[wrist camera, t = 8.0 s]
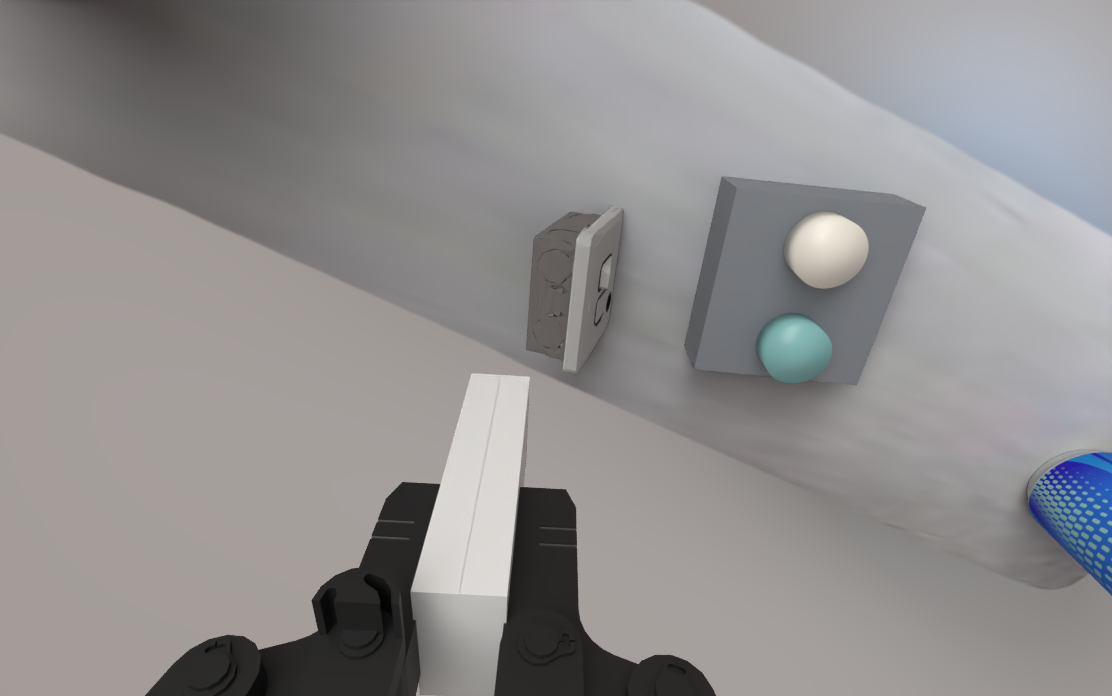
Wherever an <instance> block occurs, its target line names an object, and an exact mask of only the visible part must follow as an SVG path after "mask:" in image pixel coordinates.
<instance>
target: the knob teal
mask: <svg viewBox="0 0 1112 696" xmlns="http://www.w3.org/2000/svg"><path fill="white" fill-rule="evenodd" d="M756 350H757V354H758V356H759V358H760V359H761V361H762V363H763V364H764V366H765V367H766V369H767V371H768V372H769V374H770V375H771V376H772V377H773V378H775V379H776V380H778V381H780V382H784V383H789V384H796V383H802V382H806V381H808V380H811V379H813V378H814V377H816V376H817V375H819V374H820V373H821V372H822V371H823V370H824V369H825V368H826V366H827V365H828V363H829V361H830V359H831V356H832V344H831V341H830V339H829V337H828V336H827V334H826V333H825V332H824V331H823V330H822V329H821V328H820V327H819V326H818V325H817V324H816V323H815V321H813V320H812V319H811V318H809V317H808V316H805V315H802V314H797V313H791V314H785V315H781V316H779V317H776V318H775V319H772V320H771V321H770V322H769V323H767V324H766V325H765V326H764V328H763V329H762V330H761V332H760V334H759V335H758V338H757V342H756Z"/></svg>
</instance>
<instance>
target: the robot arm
mask: <svg viewBox="0 0 1112 696" xmlns="http://www.w3.org/2000/svg"><path fill="white" fill-rule="evenodd" d="M529 380H530V377H525V376H507V375H489V374H473V373H472V374H471V378H470V381H469V385H468V388H467V392H466V396H465V399H464V403H463V406H462V410H461V413H460V417H459V420H458V424H457V428H456V431H455V435H454V438H453V442H452V446H451V449H450V453H449V456H448V460H447V463H446V467H445V471H444V474H443V478H442V481H441V484H427V483H409V482H402V483H401V484H400V485H399V486H398V487H397V488H396V489H395V490H394V491H393V492H392V493H391V494H390V495H389V496H388V497H387V498H386V501H385V503H384V505H383V508H382V510H381V513H380V516H379V518H378V522H377V523H376V526H375V528H374V531H373V533H372V539H370V541H369V544H368V546H367V549H366V551H365V554H364V557H363V559H362V562H361V564H360V567H359V568H353V569H350V570H347V571H345V572H342V573H340V574H338V575H335V576H334V577H333V578H331V579H330V580H329V581H327V582H326V583H325V584H324V585H322V586H321V587H320V589H319V590H318V592H317V593H316V595H315V596H314V598H313V599H312V604H313V609H314V614H315V618H316V622H317V627H318V631H317V632H315V633H313V634H312V635H310V636H307V637H305V638H302V639H299V640H296V641H292V642H288V643H285V644H281V645H276V646H273V647H269V648H264V649H261V650H258V649H257V646H256V644H255V643H254V642H252V641H250V640H249V639H247V638H245V637H244V636H234V635H226V636H221V637H217V638H213V639H209V640H207V641H205V642H203V643H201V644H199V645H198V646H196V647H194V648H192V649H190V650H189V651H188V652H186V653H185V654H184V655H183V656H182V657H181V658H180V659H179V660H177V661H176V662H175V663H174V664H173V665H172V666H171V667H170V668H169V669H168V671H167V672H166V673H165V674H164V675H163V676H162V677H161V678H160V680H159V681H158V682H157V683H156V684H155V685H154V686H153V687H152V688H151V690H150V691H149V692H148V693H147V694H146V695H145V696H416V692H417V687H418V683H419V687H420V695H437V696H716V695H715V693H714V690H713V688H712V687H711V685H710V684H709V682H708V681H707V679H706V678H705V676H704V675H703V673H702V672H701V671H699V670H698V669H697V668H696V667H694V666H693V665H692V664H691V663H689V662H688V661H686V660H683V659H681V658H678V657H675V656H673V655H654V656H652V657H649V658H647V659H645V660H642V661H641V662H640V663H639V664H636V663H633V662H631V661H628V660H626V659H623V658H620V657H618V656H615V655H613V654H611V653H609V652H607V651H605V650H603V649H602V648H600V647H599V646H598V645H597V644H596V643H594V642H593V641H592V640H591V638H590V637H589V636H588V634H587V633H586V632H585V630H584V628H583V626H582V624H581V621H580V616H579V610H578V573H577V533H576V507H575V505H574V503H573V502H572V500H571V498H570V496H569V494H568V493H567V491H566V489H565V490H564V489H546V488H528V487H524V477H525V467H526V452H527V427H528V406H529V383H530V381H529Z"/></svg>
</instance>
